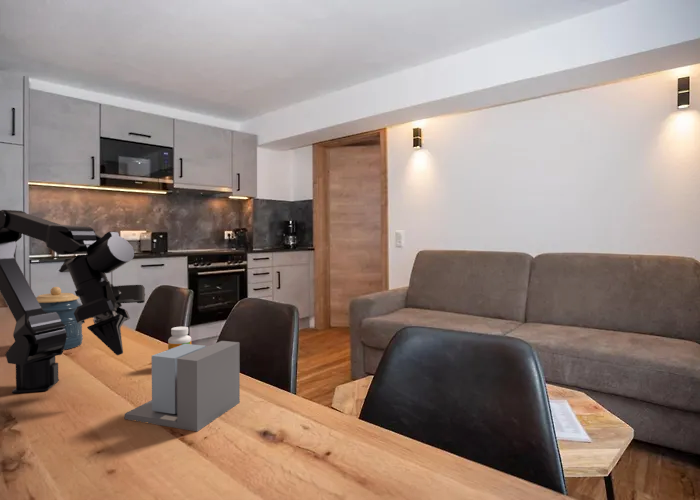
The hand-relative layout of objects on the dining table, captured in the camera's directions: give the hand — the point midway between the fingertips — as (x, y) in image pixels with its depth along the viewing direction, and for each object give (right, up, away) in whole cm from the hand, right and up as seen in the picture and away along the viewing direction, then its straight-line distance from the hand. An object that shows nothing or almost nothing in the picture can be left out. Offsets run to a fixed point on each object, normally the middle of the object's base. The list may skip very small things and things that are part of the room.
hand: (120, 354), depth 84 cm
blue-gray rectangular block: (+14, -8, -4) cm, 16 cm away
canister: (-41, -8, +40) cm, 58 cm away
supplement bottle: (+3, -9, +22) cm, 24 cm away
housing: (+14, -10, -4) cm, 18 cm away
